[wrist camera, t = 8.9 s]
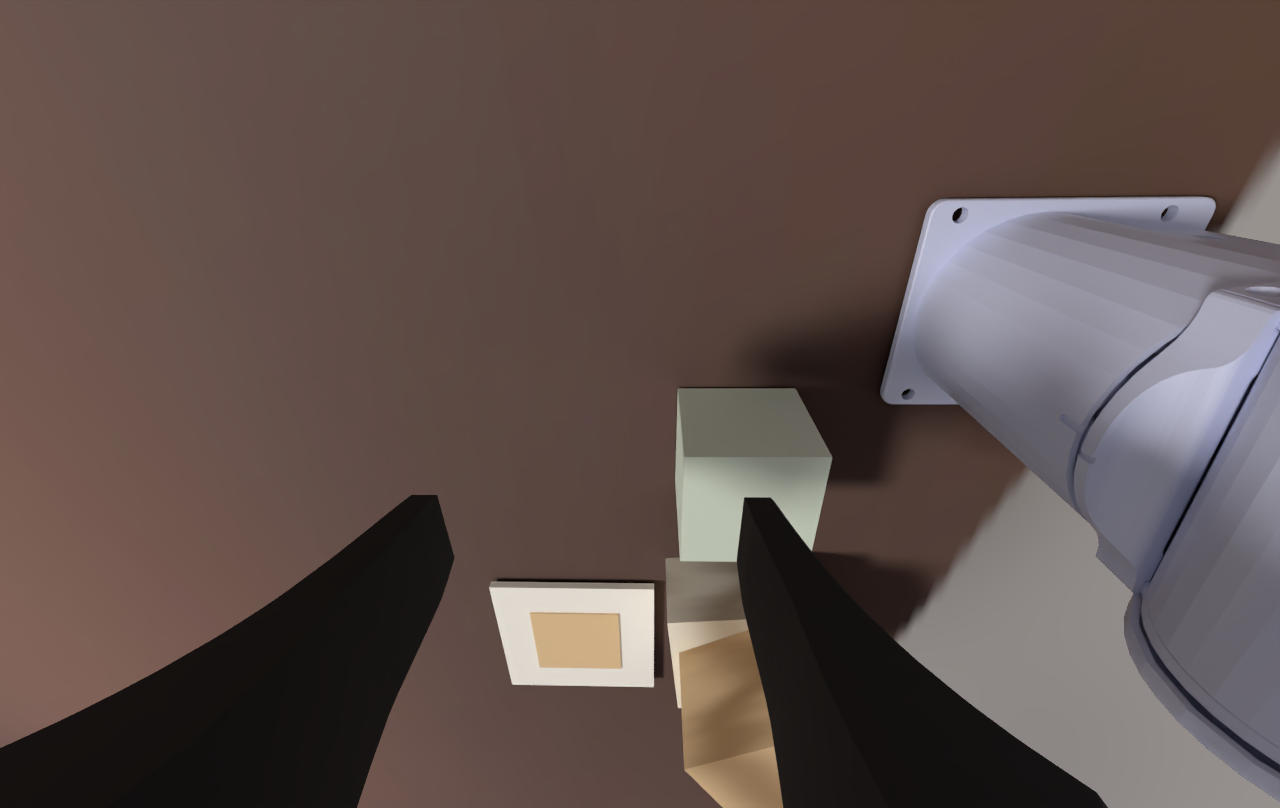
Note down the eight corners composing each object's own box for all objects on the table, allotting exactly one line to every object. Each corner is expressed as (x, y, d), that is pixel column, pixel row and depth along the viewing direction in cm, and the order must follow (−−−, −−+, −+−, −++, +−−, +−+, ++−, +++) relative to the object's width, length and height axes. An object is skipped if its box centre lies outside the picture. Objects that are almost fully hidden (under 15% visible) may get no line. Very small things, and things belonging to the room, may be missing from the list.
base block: (798, 549, 26) (821, 615, 22) (792, 634, 29) (811, 703, 26) (665, 557, 26) (667, 623, 23) (675, 639, 30) (678, 708, 26)
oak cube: (775, 621, 23) (804, 738, 18) (814, 678, 25) (848, 797, 20) (679, 652, 24) (684, 769, 19) (723, 705, 26) (737, 821, 22)
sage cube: (795, 388, 21) (832, 457, 17) (780, 481, 23) (809, 562, 19) (677, 388, 21) (684, 456, 17) (675, 480, 24) (680, 561, 19)
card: (654, 583, 27) (654, 590, 26) (653, 680, 31) (653, 688, 31) (491, 581, 27) (488, 589, 27) (513, 678, 32) (512, 686, 31)
